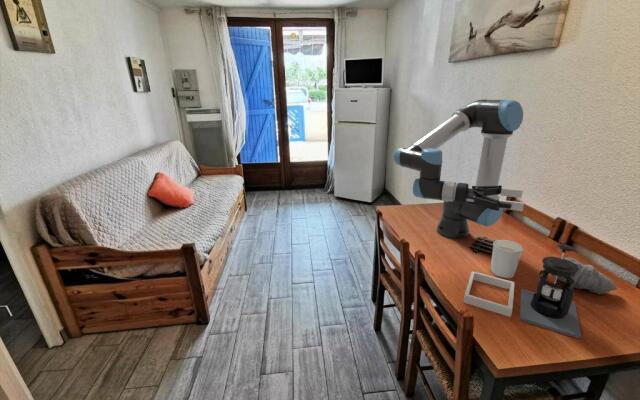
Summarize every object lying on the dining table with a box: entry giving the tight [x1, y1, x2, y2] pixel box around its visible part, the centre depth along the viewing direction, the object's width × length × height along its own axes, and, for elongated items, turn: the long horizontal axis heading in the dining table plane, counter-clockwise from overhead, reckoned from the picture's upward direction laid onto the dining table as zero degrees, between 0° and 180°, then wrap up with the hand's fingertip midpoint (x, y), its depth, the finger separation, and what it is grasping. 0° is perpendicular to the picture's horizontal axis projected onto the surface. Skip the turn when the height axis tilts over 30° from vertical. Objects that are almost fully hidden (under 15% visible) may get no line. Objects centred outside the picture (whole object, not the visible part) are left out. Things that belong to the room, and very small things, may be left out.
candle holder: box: [490, 239, 524, 279], centre depth 119 cm, size 10×10×12 cm
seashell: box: [550, 257, 618, 295], centre depth 110 cm, size 16×15×10 cm
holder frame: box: [463, 271, 515, 318], centre depth 107 cm, size 14×17×3 cm
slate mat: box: [519, 289, 582, 340], centre depth 98 cm, size 15×17×1 cm
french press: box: [530, 243, 579, 319], centre depth 94 cm, size 12×9×23 cm
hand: (522, 200), depth 103 cm, fingers open, 13 cm apart
